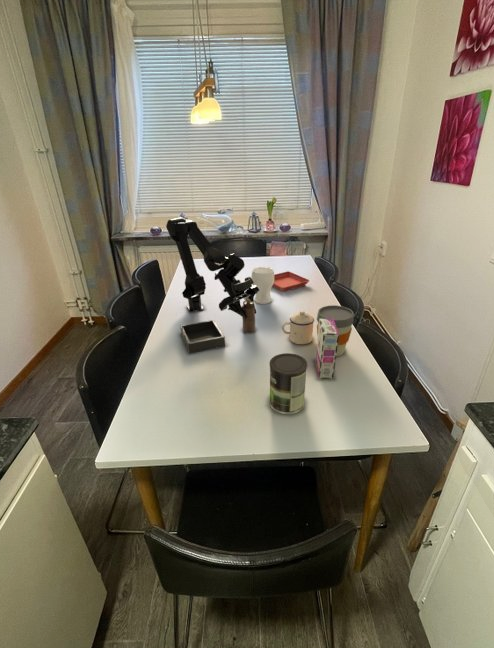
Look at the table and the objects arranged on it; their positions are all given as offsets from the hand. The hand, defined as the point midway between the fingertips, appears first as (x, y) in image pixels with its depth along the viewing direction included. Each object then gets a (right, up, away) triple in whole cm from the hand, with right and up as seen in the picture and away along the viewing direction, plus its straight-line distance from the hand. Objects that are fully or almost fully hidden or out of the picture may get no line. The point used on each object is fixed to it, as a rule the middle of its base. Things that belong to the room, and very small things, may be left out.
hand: (251, 315), depth 137 cm
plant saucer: (+18, +21, +47) cm, 55 cm away
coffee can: (+11, -30, -35) cm, 47 cm away
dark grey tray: (-19, -10, -2) cm, 21 cm away
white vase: (+5, +10, +30) cm, 32 cm away
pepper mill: (-1, -5, +4) cm, 7 cm away
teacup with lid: (+18, -10, -3) cm, 20 cm away
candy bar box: (+25, -20, -21) cm, 38 cm away
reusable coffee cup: (+30, -14, -10) cm, 34 cm away
